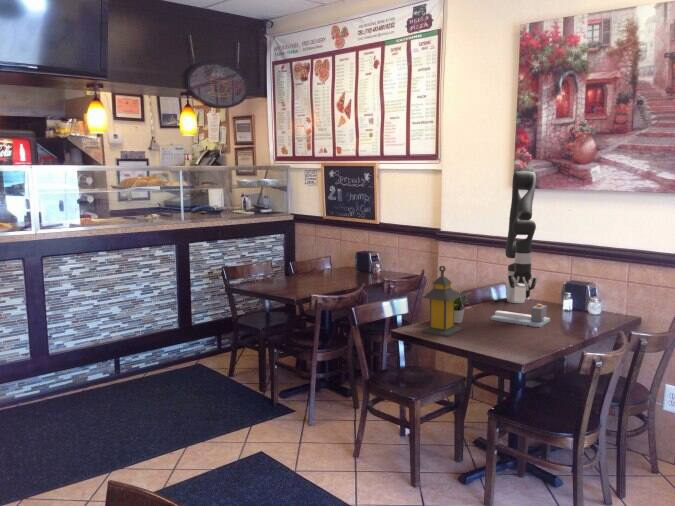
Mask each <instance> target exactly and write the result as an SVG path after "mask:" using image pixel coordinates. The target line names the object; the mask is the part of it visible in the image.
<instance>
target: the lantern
mask: <svg viewBox="0 0 675 506" xmlns="http://www.w3.org/2000/svg"><path fill="white" fill-rule="evenodd" d="M438 269H439V272H440V276H438V278H437V279H435V281H433V282H432V284H433V288H432V289H431V290H430V291H429V292H427V293H426V294H425V295H424V296H422V298H423V299H428V300H429V326H427V327H425V328H422V329H421V333H424V334H429V335H435V336H439V337H440V336H441V337H446V338H447V337H451V336H454V335H455V333H456V334H458V333H460V332H462V331H463V328H462V327H459V326H455V323H454V300H455V299H457V298H459V297H463V296H462V295H459V292H457V291H456V292H455V289H453V288H452V287H451V284H453V282H452V281H451V280H449V279H448V277H446V276H445V272H446V266H445V265H441V266H439V267H438ZM461 330H462V331H461ZM459 331H460V332H459ZM457 332H458V333H457ZM453 334H454V335H453Z"/></svg>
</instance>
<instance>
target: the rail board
mask: <svg viewBox="0 0 675 506" xmlns="http://www.w3.org/2000/svg"><path fill="white" fill-rule="evenodd" d="M547 313H548V305H544V304H542V303H537V304H536V305H534V306H532V307H531V313H530V314H526V313H520V312H519V313H518V312H511V311H504V310H495V311H494V315H492V316H490V321H494V320H495V322H501V323H507V322H508V323H509V324H514V323H515V324H516V325H521V324H522V325H523V326H527V325H529V327H536V328H542V327H543V326H544V325H546V324H548V323H550V322H551V317H548V316H547V315H548V314H547ZM508 323H507V324H508ZM522 325H521V326H522Z"/></svg>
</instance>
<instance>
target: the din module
mask: <svg viewBox="0 0 675 506" xmlns="http://www.w3.org/2000/svg"><path fill="white" fill-rule="evenodd" d="M530 297H531V296H530ZM530 297H529V298H526V287H525V285H524V284H520V285H518V286H515V291H514V301H519V302H524V303H526V302H525V301H526V300H527V301H528V300H530Z"/></svg>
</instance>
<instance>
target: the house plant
mask: <svg viewBox="0 0 675 506" xmlns="http://www.w3.org/2000/svg"><path fill="white" fill-rule="evenodd" d="M454 291H455V292H457V289H456V288H454ZM463 291H464V290H462V288H460V290H459V292H458V294H459V295H461V296H462V295H463ZM471 293H472V291H470V292H468V293H465V294H464V295H463V296H462V297H459V298H457V299H454V324H460V323H463V318H464V313H465V308H463V307H462V306H463V305H466V304H468V305H469V302H467V301H469V300H470V299H465V298H467V297H468V296H470V294H471ZM464 299H465V300H464Z"/></svg>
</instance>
